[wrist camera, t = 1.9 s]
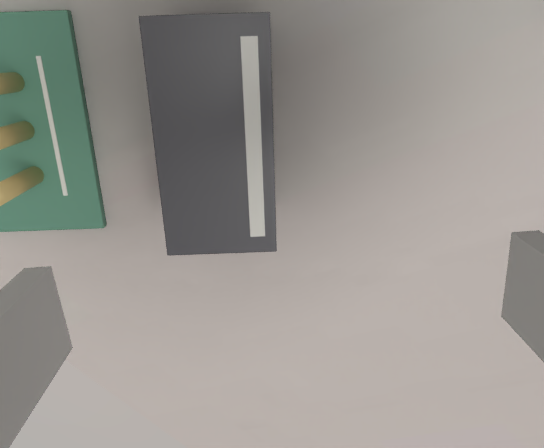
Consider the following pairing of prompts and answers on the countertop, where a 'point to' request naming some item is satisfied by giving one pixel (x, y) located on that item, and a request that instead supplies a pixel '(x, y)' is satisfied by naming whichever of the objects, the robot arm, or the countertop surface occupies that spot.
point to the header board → (44, 128)
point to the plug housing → (212, 130)
